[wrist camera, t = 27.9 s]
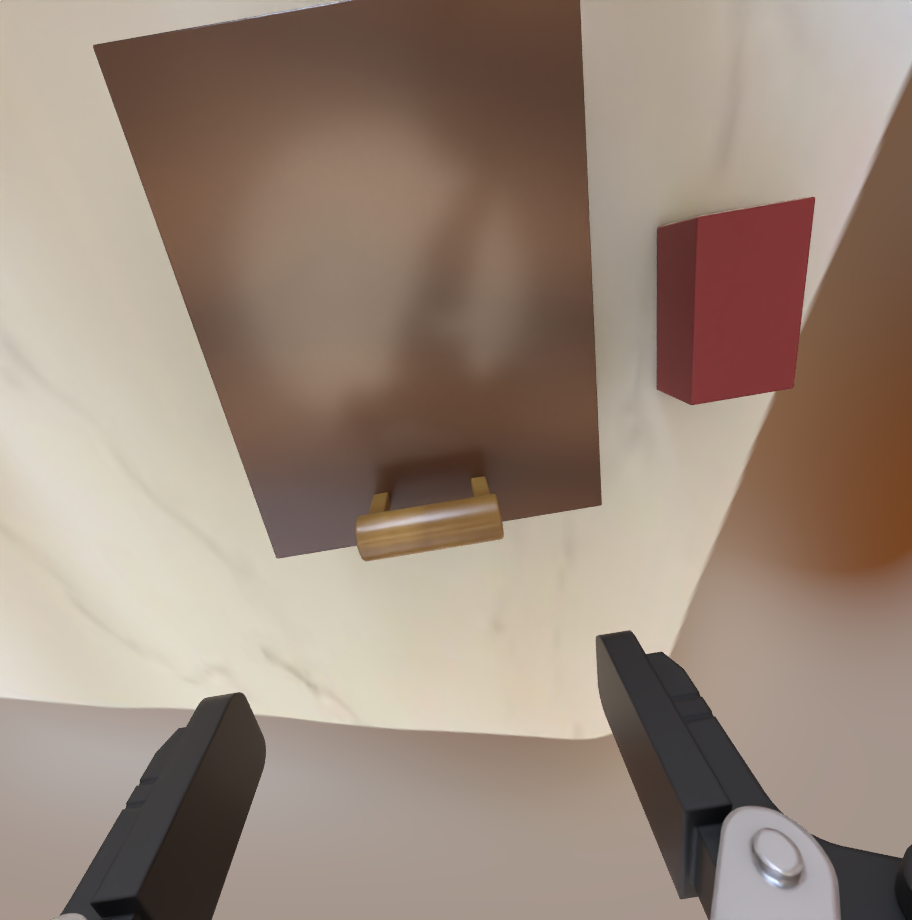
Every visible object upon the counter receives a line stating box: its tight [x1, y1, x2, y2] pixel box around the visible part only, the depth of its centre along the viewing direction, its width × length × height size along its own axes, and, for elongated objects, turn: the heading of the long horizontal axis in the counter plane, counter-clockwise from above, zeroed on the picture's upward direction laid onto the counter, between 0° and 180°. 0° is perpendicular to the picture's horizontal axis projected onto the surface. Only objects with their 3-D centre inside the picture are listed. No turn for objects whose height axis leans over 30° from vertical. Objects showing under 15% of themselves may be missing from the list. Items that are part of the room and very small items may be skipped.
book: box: [657, 197, 815, 405], centre depth 24 cm, size 9×6×4 cm, turn 9°
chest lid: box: [93, 0, 602, 561], centre depth 16 cm, size 20×16×5 cm
